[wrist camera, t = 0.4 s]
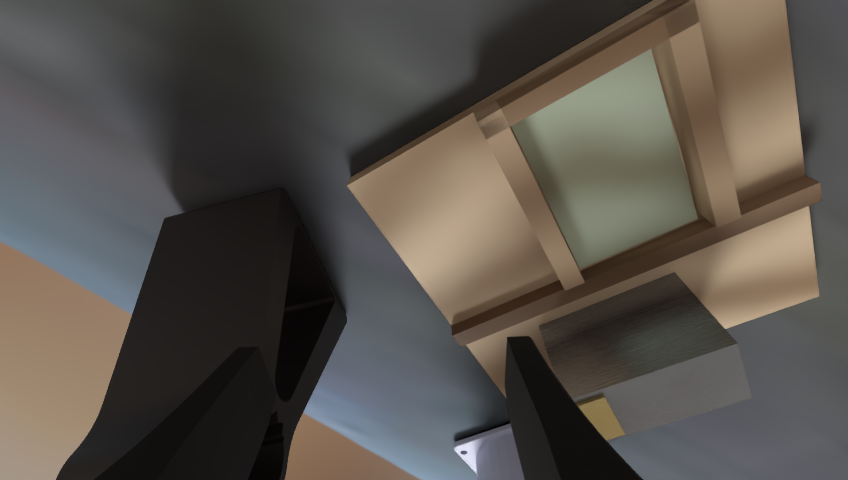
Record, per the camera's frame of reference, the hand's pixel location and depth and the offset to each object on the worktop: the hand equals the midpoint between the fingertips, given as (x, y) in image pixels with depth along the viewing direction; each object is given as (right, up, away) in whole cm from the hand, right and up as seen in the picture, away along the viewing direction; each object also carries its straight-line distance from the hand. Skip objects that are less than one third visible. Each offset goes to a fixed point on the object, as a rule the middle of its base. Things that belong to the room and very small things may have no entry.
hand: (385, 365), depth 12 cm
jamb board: (+10, +4, +9) cm, 14 cm away
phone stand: (-7, +2, +10) cm, 13 cm away
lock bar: (+12, -1, +11) cm, 16 cm away
